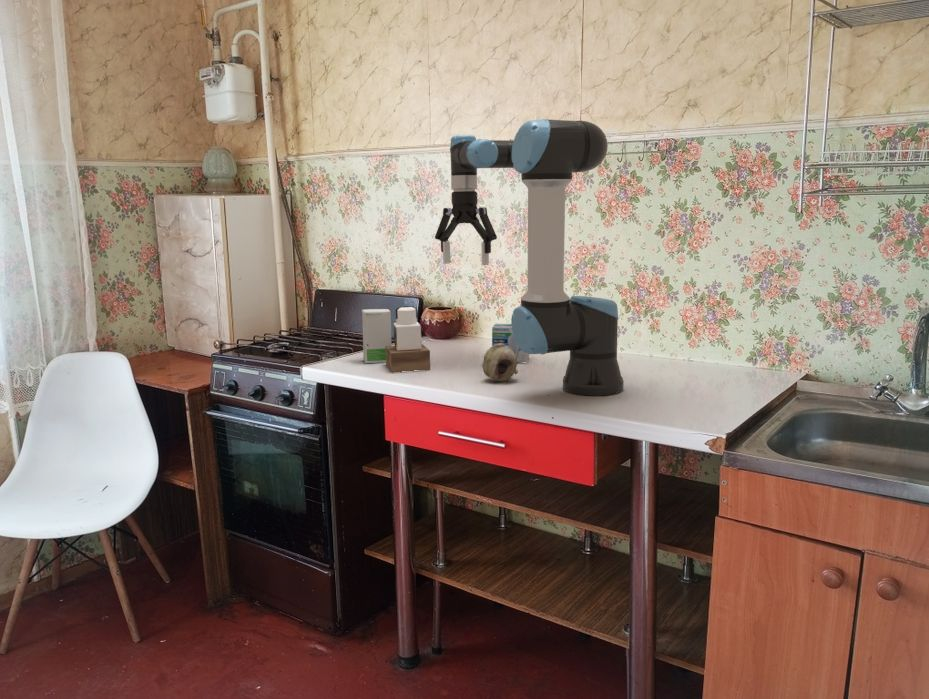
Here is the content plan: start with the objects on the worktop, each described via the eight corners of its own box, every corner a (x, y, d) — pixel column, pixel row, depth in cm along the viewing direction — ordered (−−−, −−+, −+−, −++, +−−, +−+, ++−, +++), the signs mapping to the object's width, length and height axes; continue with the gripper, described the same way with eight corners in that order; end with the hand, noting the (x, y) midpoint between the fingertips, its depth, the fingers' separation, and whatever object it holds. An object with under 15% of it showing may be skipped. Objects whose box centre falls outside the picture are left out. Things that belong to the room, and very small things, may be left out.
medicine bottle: (394, 346, 219) (392, 306, 216) (418, 345, 220) (417, 304, 218) (396, 351, 212) (394, 309, 210) (421, 349, 213) (420, 307, 211)
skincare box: (365, 364, 223) (362, 312, 220) (363, 359, 229) (360, 309, 226) (393, 362, 225) (391, 310, 222) (390, 357, 231) (388, 307, 228)
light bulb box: (491, 362, 222) (491, 326, 219) (494, 358, 228) (494, 323, 226) (527, 363, 220) (527, 327, 218) (529, 358, 226) (529, 323, 224)
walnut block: (430, 371, 214) (429, 350, 212) (392, 374, 211) (391, 353, 210) (422, 363, 224) (422, 343, 223) (386, 366, 221) (385, 346, 220)
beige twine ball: (476, 380, 200) (476, 344, 198) (498, 375, 206) (497, 339, 204) (503, 386, 193) (502, 348, 191) (524, 380, 199) (524, 343, 197)
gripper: (508, 189, 214) (508, 264, 218) (436, 191, 227) (438, 261, 232) (494, 189, 208) (495, 266, 212) (422, 191, 221) (424, 263, 225)
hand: (465, 264), depth 222 cm, fingers open, 13 cm apart
